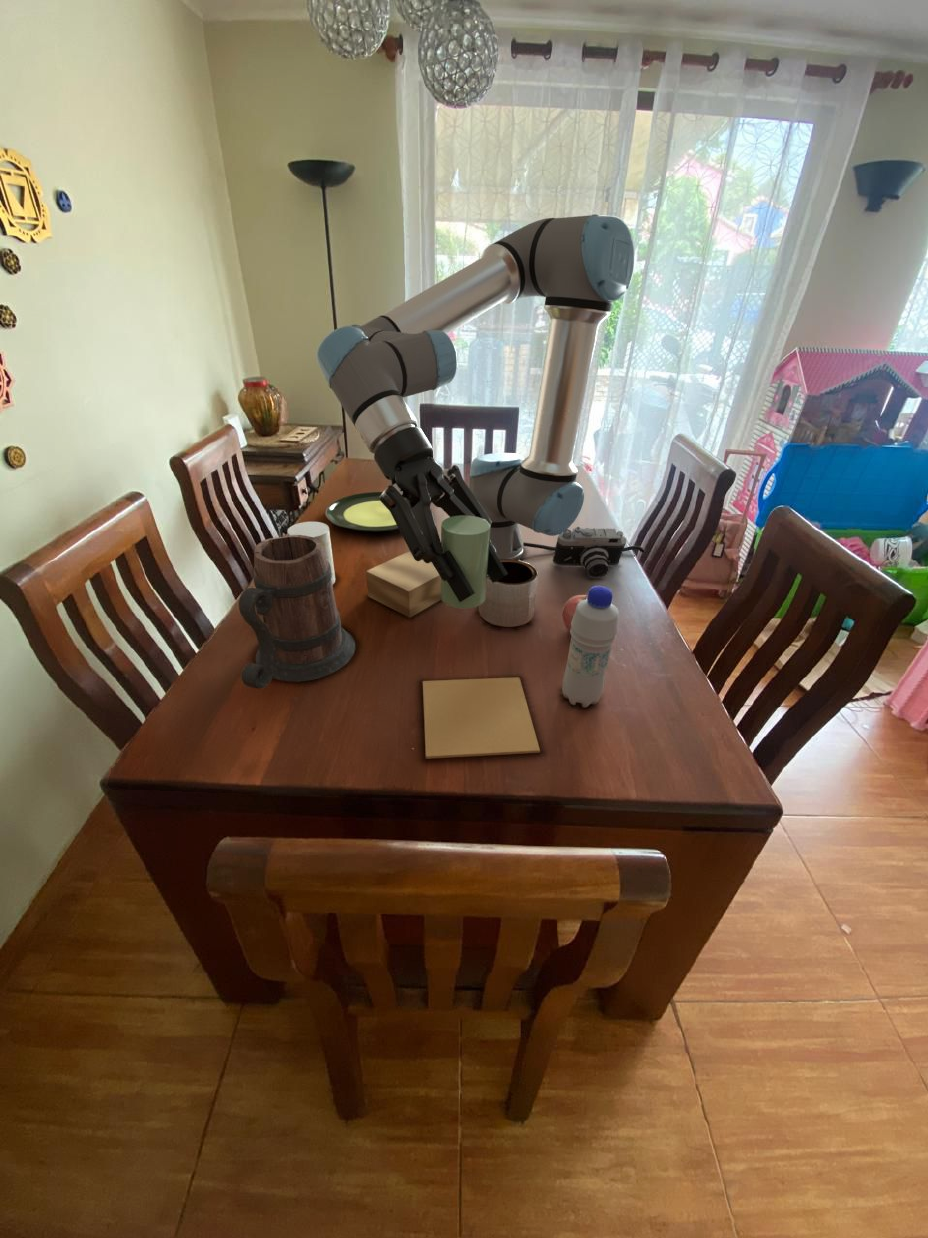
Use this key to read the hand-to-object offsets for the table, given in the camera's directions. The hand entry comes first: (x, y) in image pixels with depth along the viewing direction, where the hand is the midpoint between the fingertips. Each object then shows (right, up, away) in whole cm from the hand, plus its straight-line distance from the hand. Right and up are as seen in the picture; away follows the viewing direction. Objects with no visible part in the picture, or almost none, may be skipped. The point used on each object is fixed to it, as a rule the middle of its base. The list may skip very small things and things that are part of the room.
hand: (484, 587), depth 70 cm
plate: (-26, +23, +72) cm, 80 cm away
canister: (-3, -1, +4) cm, 5 cm away
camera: (+26, +7, +49) cm, 56 cm away
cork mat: (-1, -19, +9) cm, 21 cm away
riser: (-14, +1, +38) cm, 40 cm away
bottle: (+16, -17, +13) cm, 27 cm away
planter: (+6, -3, +33) cm, 34 cm away
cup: (-35, +4, +42) cm, 54 cm away
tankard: (-31, -12, +19) cm, 38 cm away
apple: (+19, -7, +28) cm, 35 cm away
